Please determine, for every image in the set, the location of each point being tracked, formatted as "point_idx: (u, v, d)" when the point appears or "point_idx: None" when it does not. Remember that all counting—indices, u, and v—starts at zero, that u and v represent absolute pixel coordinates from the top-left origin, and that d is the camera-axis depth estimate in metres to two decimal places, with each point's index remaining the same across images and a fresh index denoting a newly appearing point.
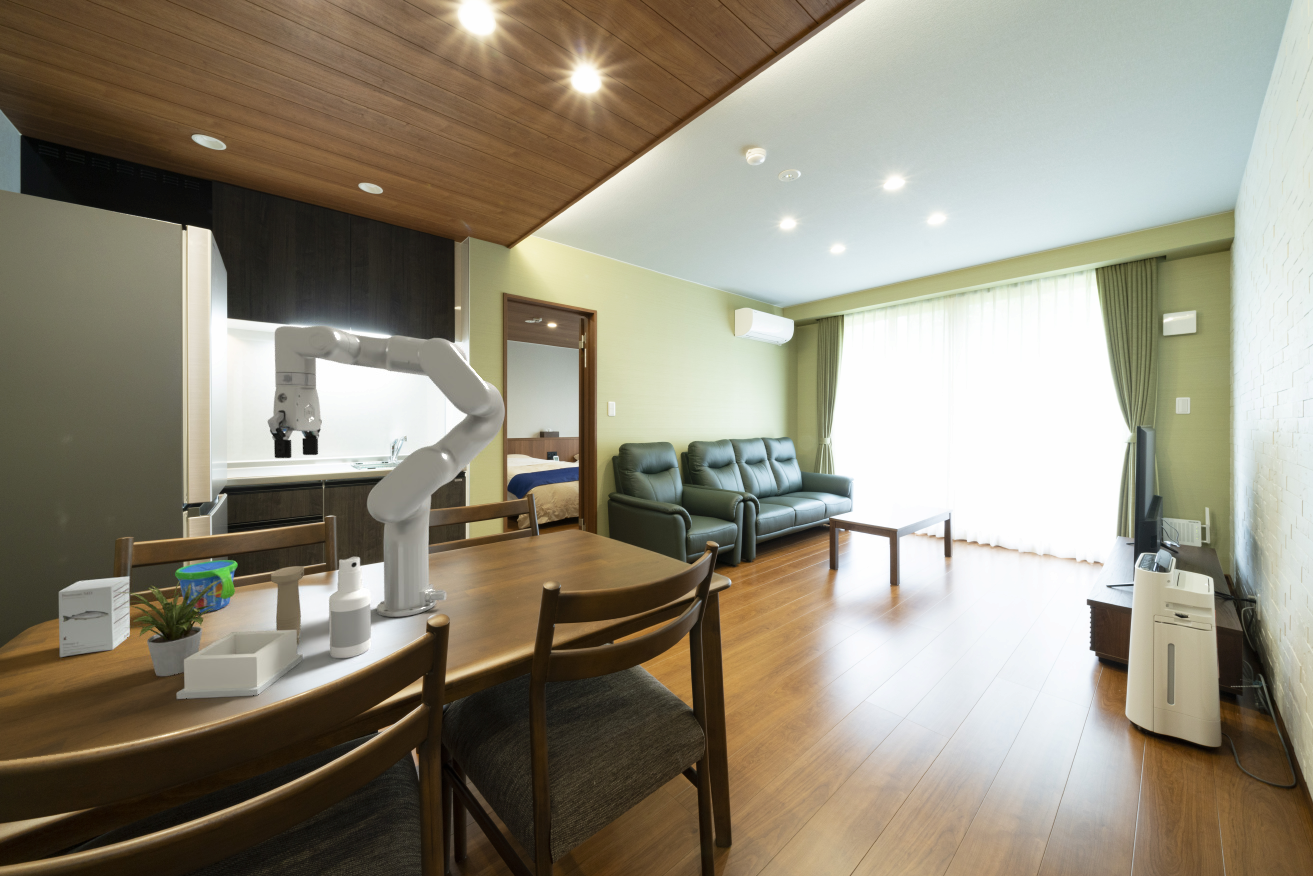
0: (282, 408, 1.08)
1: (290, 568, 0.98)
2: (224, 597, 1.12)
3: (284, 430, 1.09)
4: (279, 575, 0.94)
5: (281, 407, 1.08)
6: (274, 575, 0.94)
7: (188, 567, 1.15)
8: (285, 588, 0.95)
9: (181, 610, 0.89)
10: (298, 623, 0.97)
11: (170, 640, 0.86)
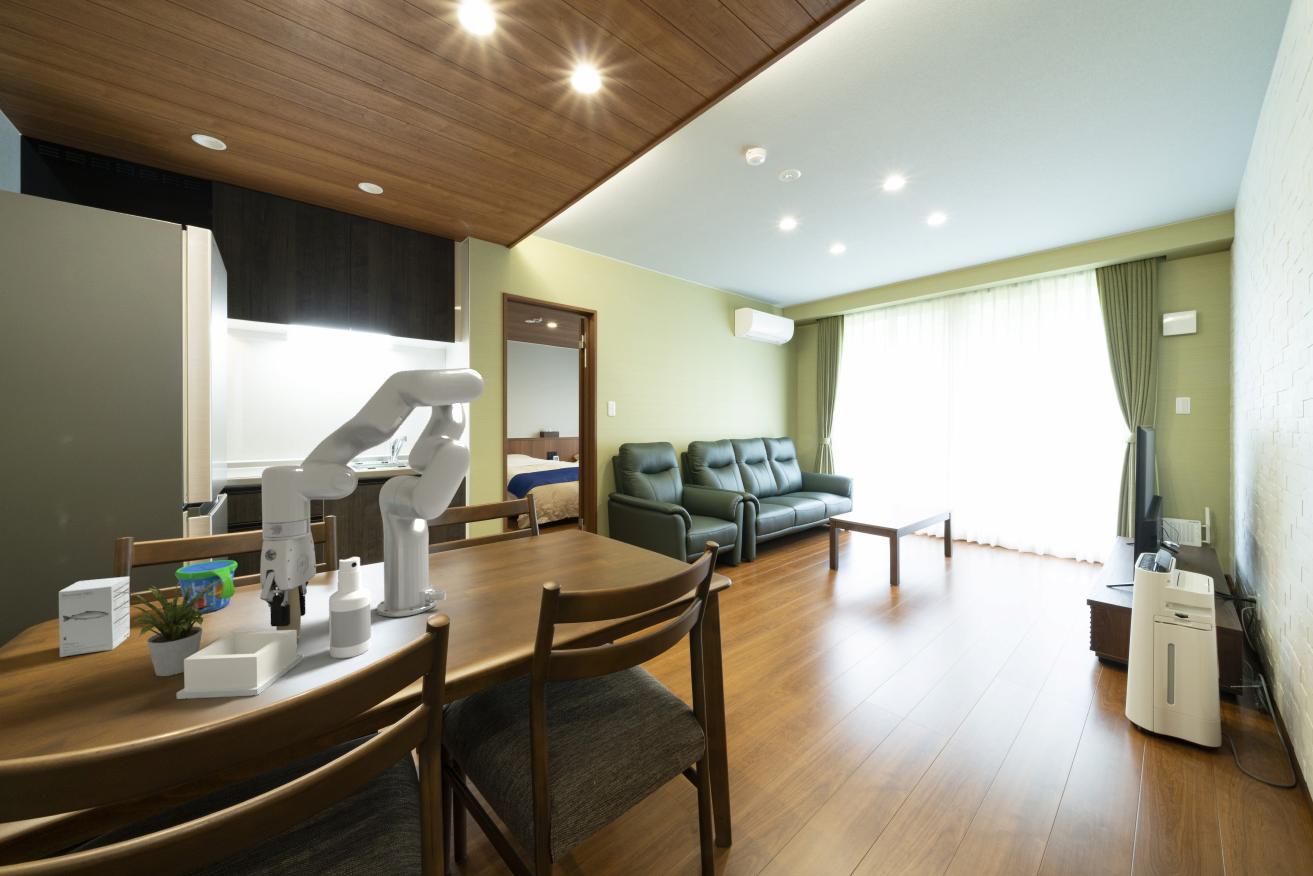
0: (271, 567, 0.91)
1: None
2: (224, 597, 1.12)
3: (279, 592, 0.94)
4: None
5: (269, 566, 0.91)
6: None
7: (188, 567, 1.15)
8: None
9: (181, 610, 0.89)
10: (298, 623, 0.97)
11: (170, 640, 0.86)
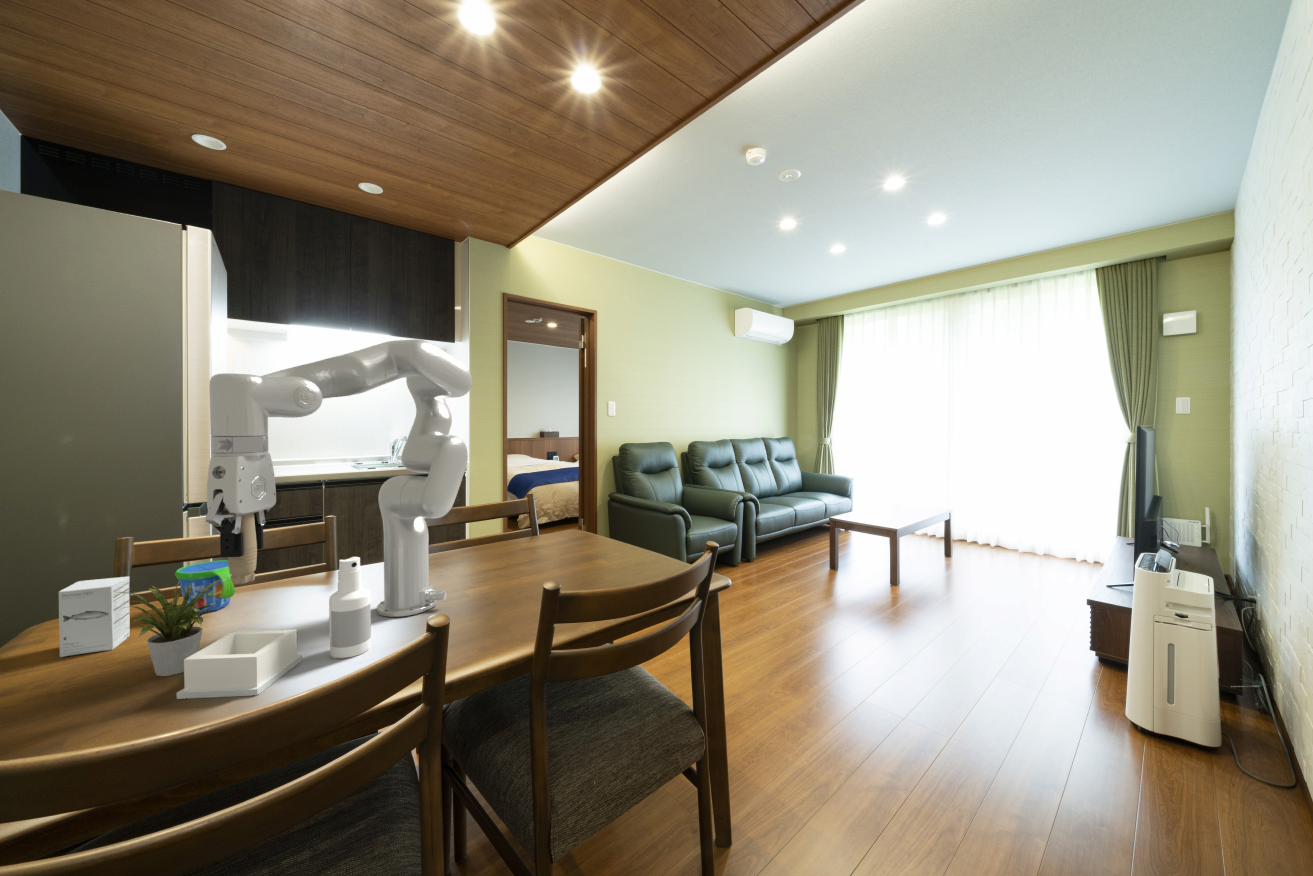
0: (219, 486, 0.79)
1: None
2: (224, 597, 1.12)
3: None
4: None
5: (217, 485, 0.79)
6: None
7: (188, 567, 1.15)
8: None
9: (181, 610, 0.89)
10: (253, 555, 0.84)
11: (170, 640, 0.86)
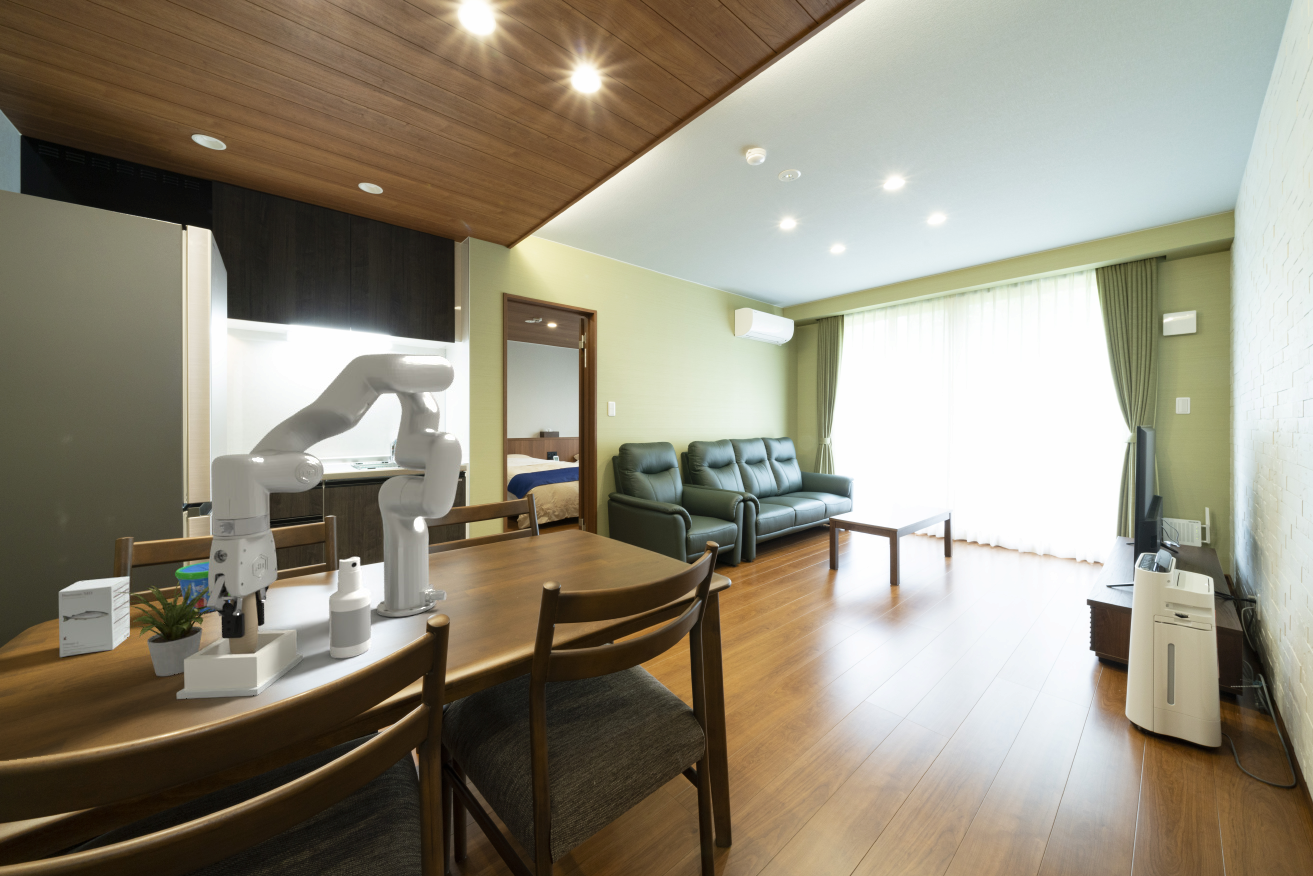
0: (220, 570, 0.79)
1: None
2: None
3: None
4: None
5: (219, 569, 0.79)
6: None
7: (188, 567, 1.15)
8: None
9: (181, 610, 0.89)
10: (254, 634, 0.85)
11: (170, 640, 0.86)
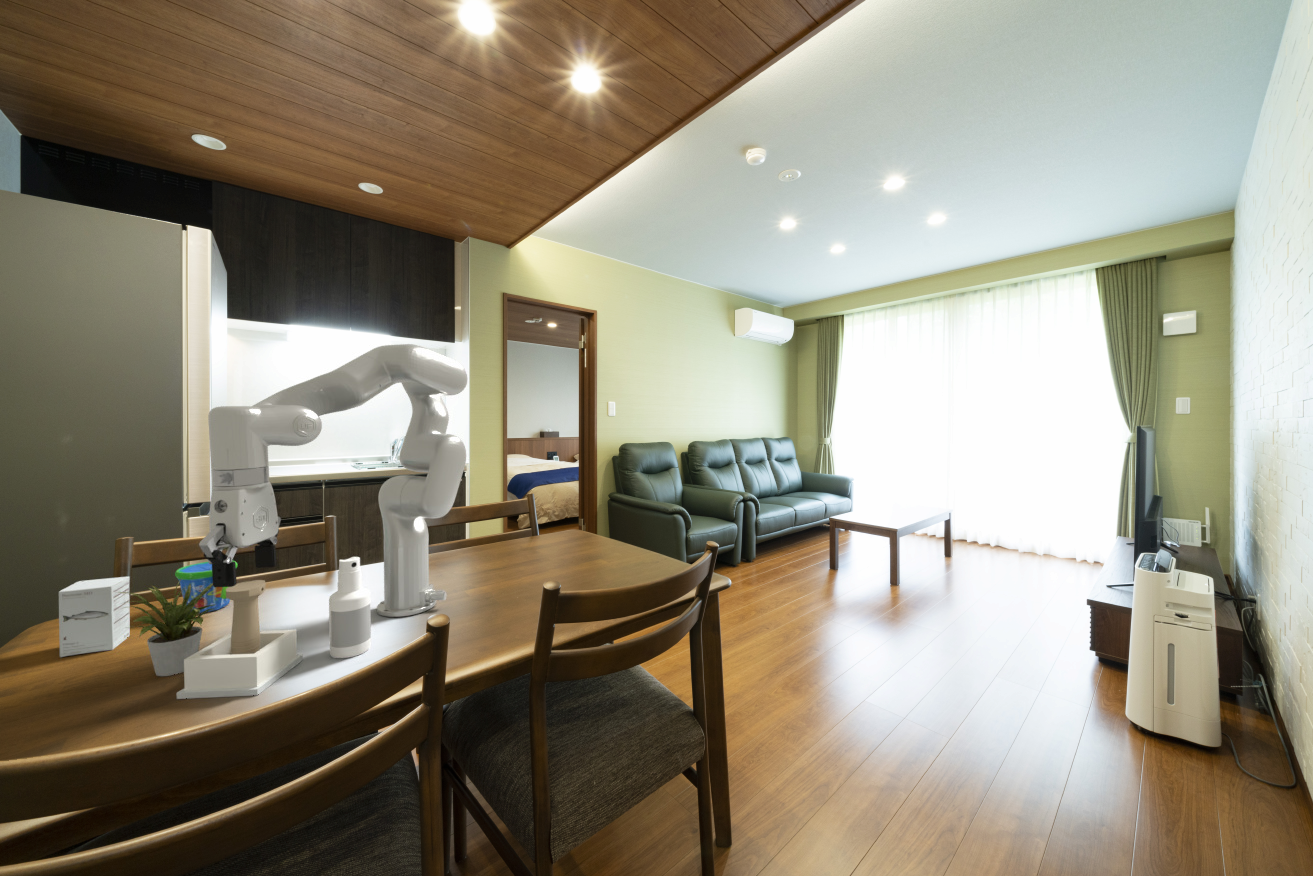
0: (221, 520, 0.79)
1: (249, 582, 0.87)
2: (224, 597, 1.12)
3: (225, 548, 0.80)
4: (235, 590, 0.82)
5: (220, 519, 0.79)
6: (229, 590, 0.82)
7: (188, 567, 1.15)
8: (242, 605, 0.83)
9: (181, 610, 0.89)
10: (256, 645, 0.85)
11: (170, 640, 0.86)
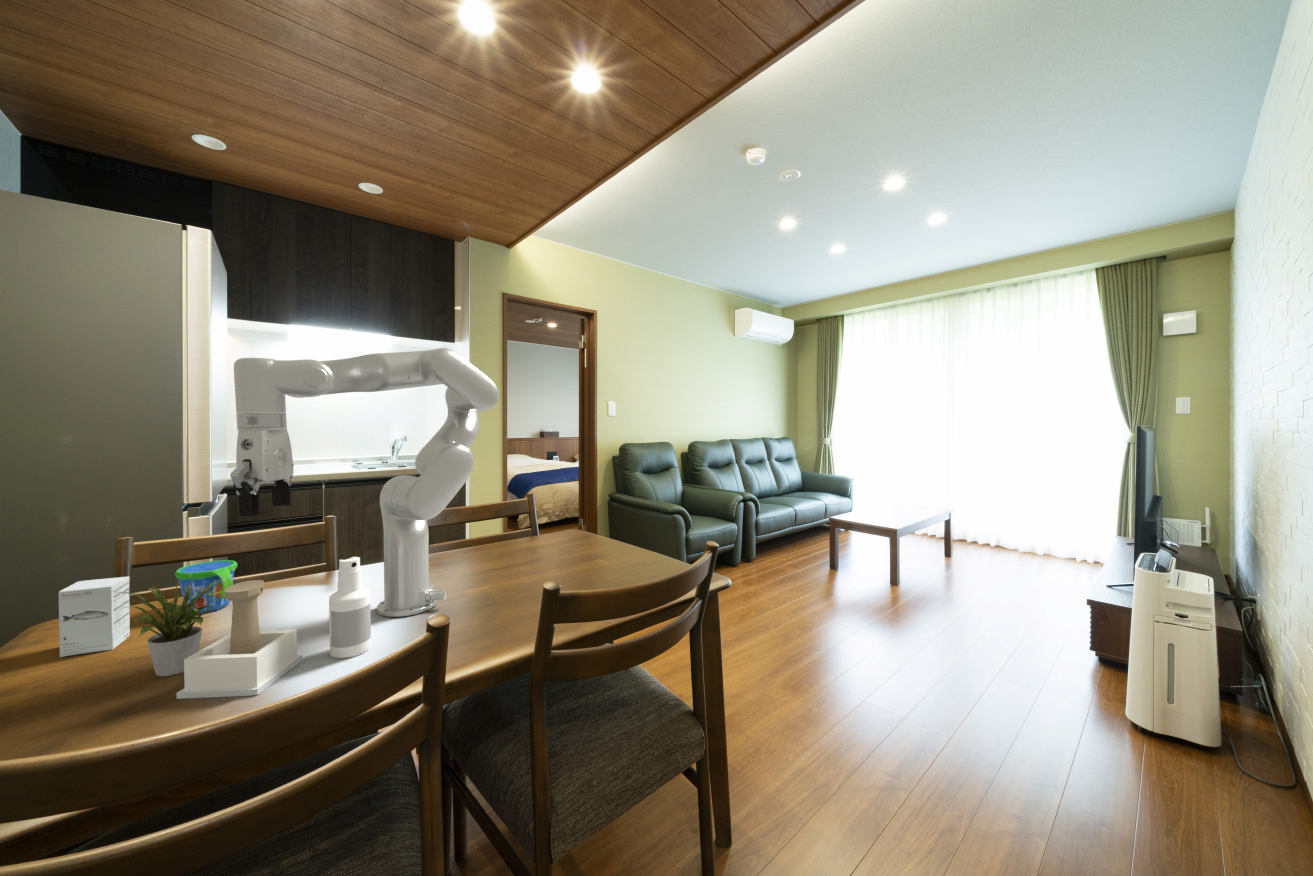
0: (247, 457, 0.90)
1: (248, 582, 0.86)
2: (224, 597, 1.12)
3: (250, 482, 0.91)
4: (234, 591, 0.82)
5: (246, 455, 0.90)
6: (228, 591, 0.82)
7: (188, 567, 1.15)
8: (241, 606, 0.83)
9: (181, 610, 0.89)
10: (256, 645, 0.85)
11: (170, 640, 0.86)
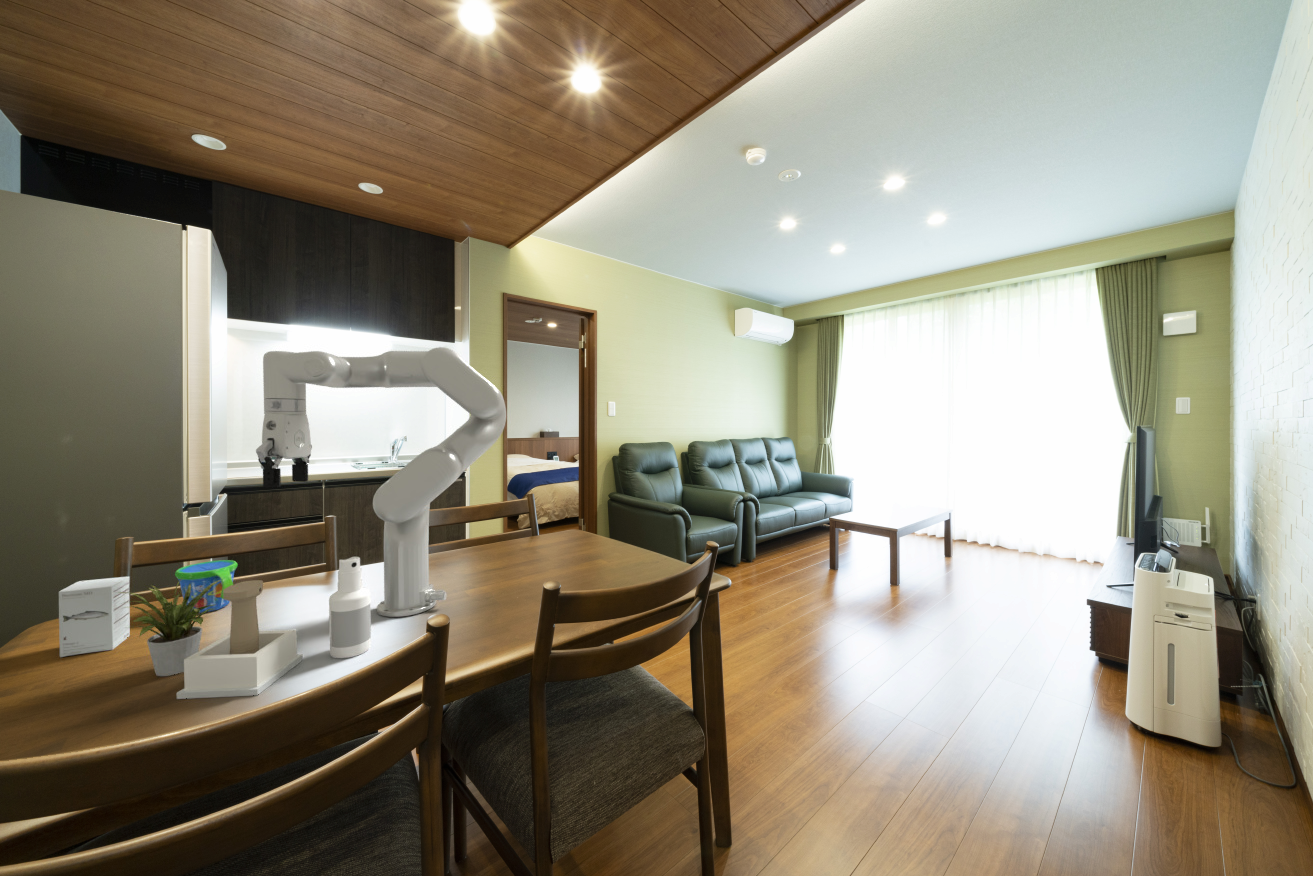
0: (271, 436, 1.05)
1: (247, 583, 0.86)
2: None
3: (273, 458, 1.06)
4: (232, 591, 0.82)
5: (270, 435, 1.05)
6: (226, 591, 0.82)
7: (188, 567, 1.15)
8: (240, 606, 0.83)
9: (181, 610, 0.89)
10: (256, 645, 0.85)
11: (170, 640, 0.86)
